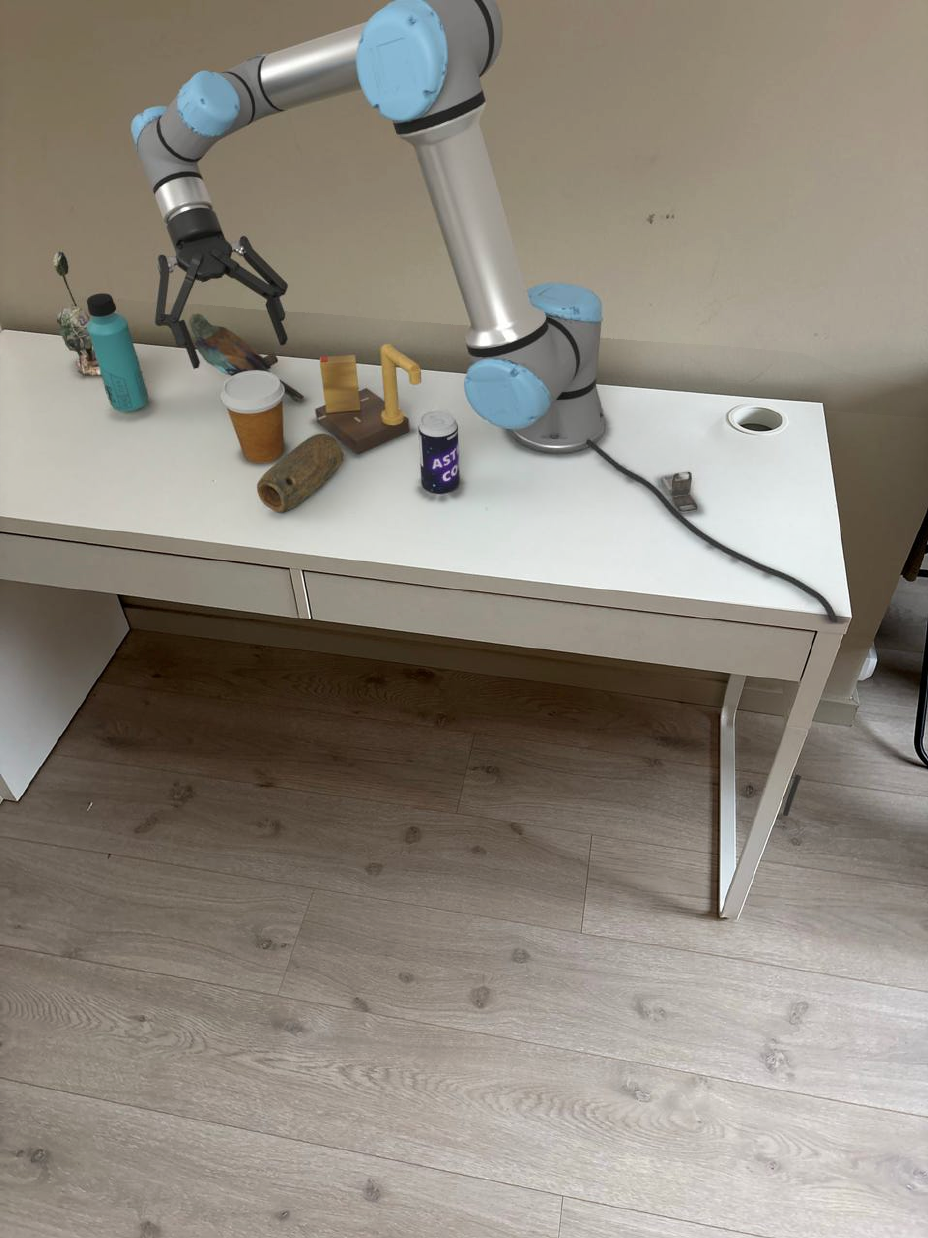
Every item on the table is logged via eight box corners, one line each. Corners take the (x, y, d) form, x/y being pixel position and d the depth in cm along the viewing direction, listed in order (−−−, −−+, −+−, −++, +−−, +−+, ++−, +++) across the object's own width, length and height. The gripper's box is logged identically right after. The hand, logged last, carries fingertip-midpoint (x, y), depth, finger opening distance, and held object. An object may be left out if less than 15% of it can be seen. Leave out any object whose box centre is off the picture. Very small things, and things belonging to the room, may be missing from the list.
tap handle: (360, 404, 165) (354, 352, 159) (360, 410, 164) (355, 358, 158) (326, 407, 165) (319, 355, 159) (326, 413, 164) (319, 361, 157)
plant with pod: (58, 380, 177) (21, 270, 163) (91, 348, 185) (58, 240, 171) (100, 386, 176) (67, 275, 162) (132, 353, 184) (102, 245, 170)
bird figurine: (321, 382, 174) (252, 277, 165) (291, 413, 167) (217, 305, 159) (271, 403, 182) (203, 304, 173) (240, 432, 176) (168, 331, 167)
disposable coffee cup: (282, 472, 157) (270, 405, 148) (224, 466, 158) (209, 398, 150) (302, 437, 163) (291, 371, 155) (245, 432, 165) (232, 365, 156)
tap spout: (431, 436, 158) (427, 361, 149) (412, 445, 157) (407, 369, 148) (395, 410, 164) (390, 336, 155) (377, 418, 162) (370, 343, 153)
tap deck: (409, 431, 164) (408, 417, 162) (350, 457, 159) (348, 443, 157) (361, 396, 172) (360, 382, 170) (303, 419, 167) (301, 405, 165)
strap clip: (659, 480, 153) (662, 456, 150) (679, 477, 154) (682, 454, 151) (678, 514, 147) (682, 491, 144) (699, 511, 148) (703, 488, 145)
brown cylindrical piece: (298, 523, 148) (291, 486, 143) (257, 511, 150) (249, 474, 145) (349, 467, 157) (345, 431, 153) (310, 457, 159) (305, 420, 155)
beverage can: (432, 503, 150) (428, 434, 142) (415, 482, 154) (411, 414, 146) (466, 491, 152) (464, 423, 144) (448, 472, 156) (446, 404, 148)
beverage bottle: (160, 405, 171) (130, 293, 157) (131, 424, 167) (98, 311, 153) (132, 394, 174) (100, 283, 160) (103, 413, 170) (68, 300, 156)
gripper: (266, 211, 158) (314, 340, 159) (106, 247, 150) (158, 383, 151) (273, 188, 151) (323, 323, 152) (105, 224, 143) (159, 367, 144)
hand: (241, 353), depth 152 cm, fingers open, 13 cm apart
